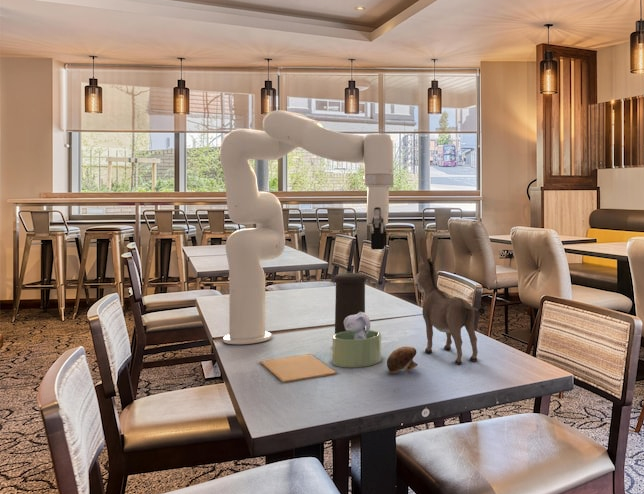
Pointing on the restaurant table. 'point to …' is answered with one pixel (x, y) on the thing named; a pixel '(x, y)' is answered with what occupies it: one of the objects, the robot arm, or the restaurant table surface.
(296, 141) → the robot arm
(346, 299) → the container
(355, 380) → the restaurant table surface
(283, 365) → the mat
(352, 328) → the toy figurine
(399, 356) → the mushroom
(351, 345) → the green bowl
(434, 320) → the toy
